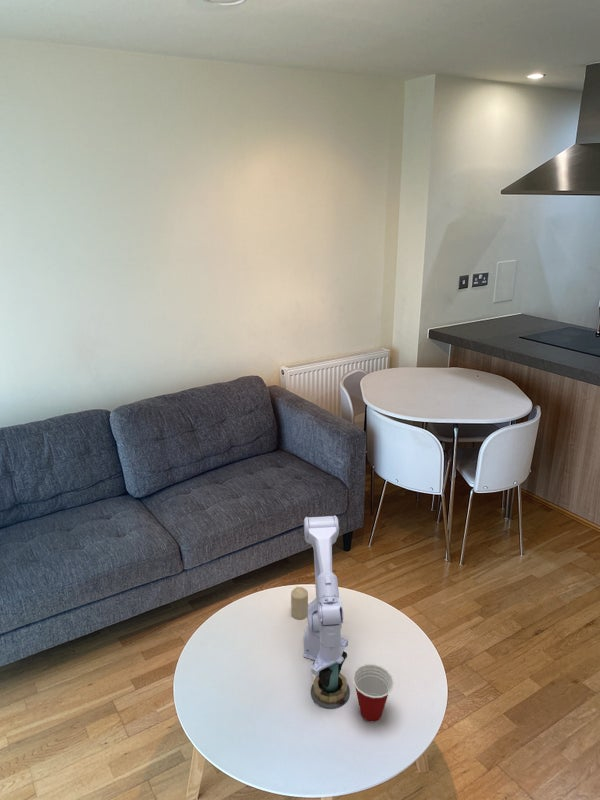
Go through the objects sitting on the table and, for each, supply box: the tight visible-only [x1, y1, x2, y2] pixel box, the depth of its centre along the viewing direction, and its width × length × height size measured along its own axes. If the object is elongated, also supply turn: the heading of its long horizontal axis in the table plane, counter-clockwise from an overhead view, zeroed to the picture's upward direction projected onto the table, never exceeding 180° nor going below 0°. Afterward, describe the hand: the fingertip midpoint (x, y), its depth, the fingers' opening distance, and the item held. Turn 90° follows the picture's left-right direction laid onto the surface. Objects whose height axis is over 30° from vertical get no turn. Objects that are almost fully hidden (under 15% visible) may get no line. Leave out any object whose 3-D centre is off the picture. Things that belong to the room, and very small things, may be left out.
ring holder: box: [310, 672, 351, 710], centre depth 165 cm, size 11×11×3 cm
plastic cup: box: [352, 663, 395, 723], centre depth 157 cm, size 11×11×12 cm
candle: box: [290, 586, 309, 621], centre depth 195 cm, size 6×6×10 cm
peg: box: [322, 663, 338, 693], centre depth 164 cm, size 4×4×8 cm
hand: (330, 679), depth 164 cm, fingers closed on peg, 4 cm apart
